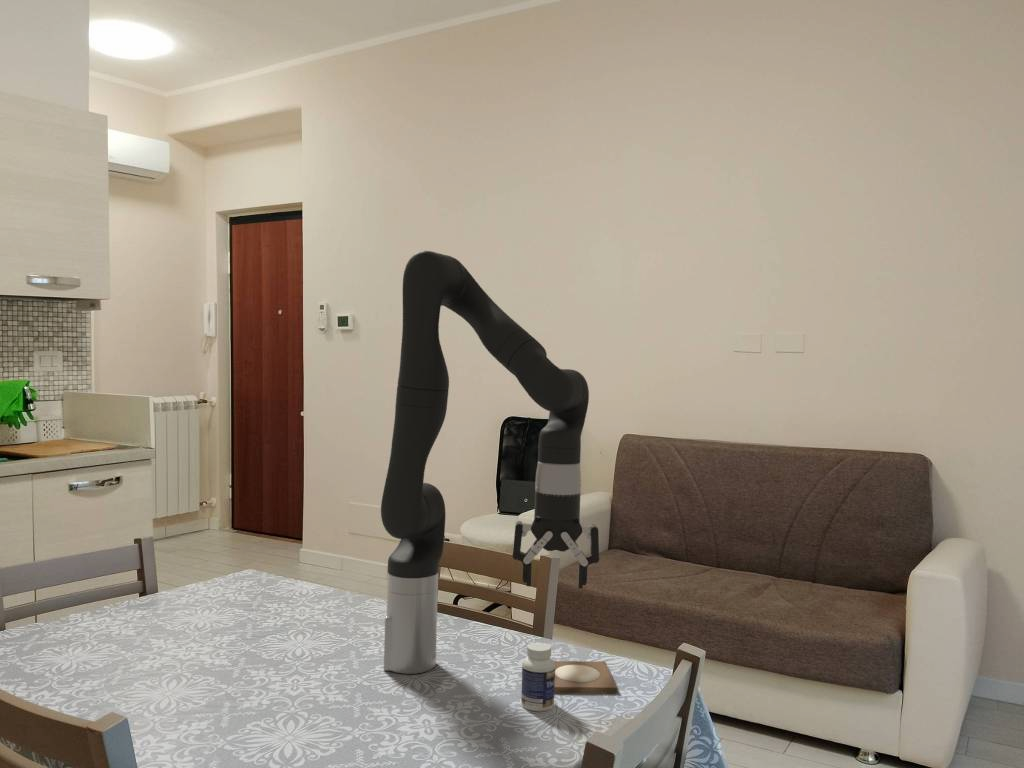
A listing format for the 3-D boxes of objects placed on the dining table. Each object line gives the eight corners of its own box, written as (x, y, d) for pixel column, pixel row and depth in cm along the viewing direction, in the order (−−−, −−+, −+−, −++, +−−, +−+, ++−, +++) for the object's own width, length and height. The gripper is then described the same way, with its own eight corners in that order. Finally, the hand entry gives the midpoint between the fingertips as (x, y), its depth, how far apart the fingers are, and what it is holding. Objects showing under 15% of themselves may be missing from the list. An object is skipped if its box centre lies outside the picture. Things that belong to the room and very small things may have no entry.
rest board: (546, 692, 136) (547, 686, 136) (540, 666, 148) (540, 660, 148) (616, 693, 137) (617, 686, 137) (605, 666, 149) (605, 661, 149)
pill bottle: (551, 714, 128) (553, 653, 128) (518, 710, 129) (520, 650, 129) (556, 700, 133) (557, 642, 133) (524, 697, 134) (526, 639, 134)
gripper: (514, 491, 129) (511, 591, 129) (603, 494, 129) (599, 594, 129) (515, 484, 136) (512, 578, 137) (599, 487, 136) (595, 582, 137)
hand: (554, 586), depth 133 cm, fingers open, 8 cm apart
